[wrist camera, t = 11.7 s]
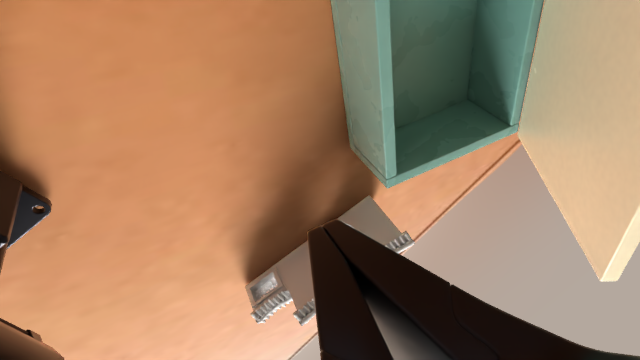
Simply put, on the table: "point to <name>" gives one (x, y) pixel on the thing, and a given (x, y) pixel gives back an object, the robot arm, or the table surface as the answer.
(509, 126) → the teal open boxy piece
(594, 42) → the lid
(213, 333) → the table surface
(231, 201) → the table surface
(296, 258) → the lattice window wall
